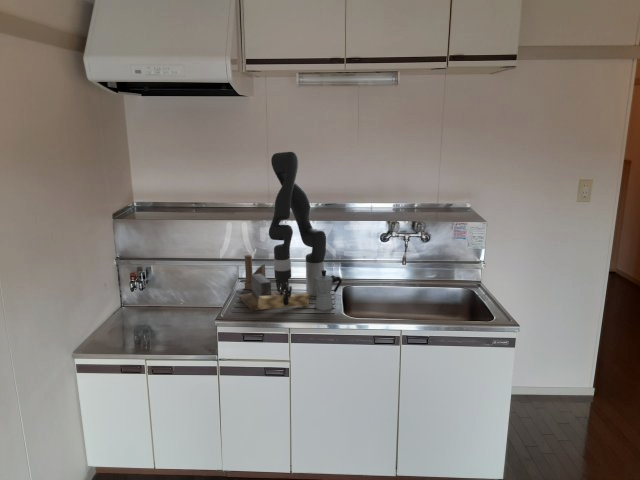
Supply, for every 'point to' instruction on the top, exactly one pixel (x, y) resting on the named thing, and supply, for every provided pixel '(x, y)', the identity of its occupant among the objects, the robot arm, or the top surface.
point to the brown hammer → (249, 271)
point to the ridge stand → (257, 291)
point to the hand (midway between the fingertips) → (284, 303)
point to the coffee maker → (325, 290)
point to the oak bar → (278, 301)
